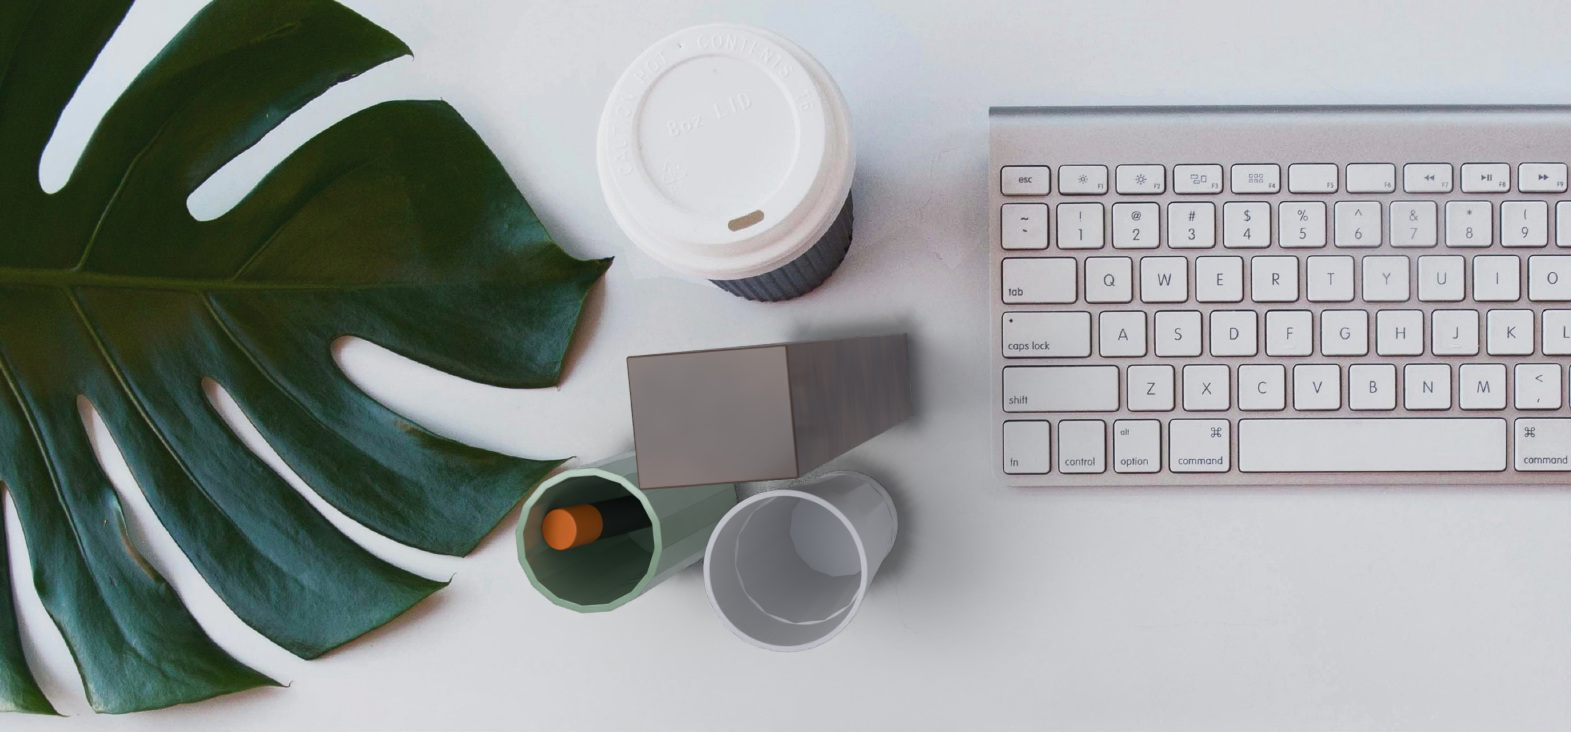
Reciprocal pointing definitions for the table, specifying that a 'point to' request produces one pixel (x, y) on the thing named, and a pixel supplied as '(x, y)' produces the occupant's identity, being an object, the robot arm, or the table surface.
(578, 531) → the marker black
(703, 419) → the stand
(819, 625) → the cup
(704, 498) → the glass
